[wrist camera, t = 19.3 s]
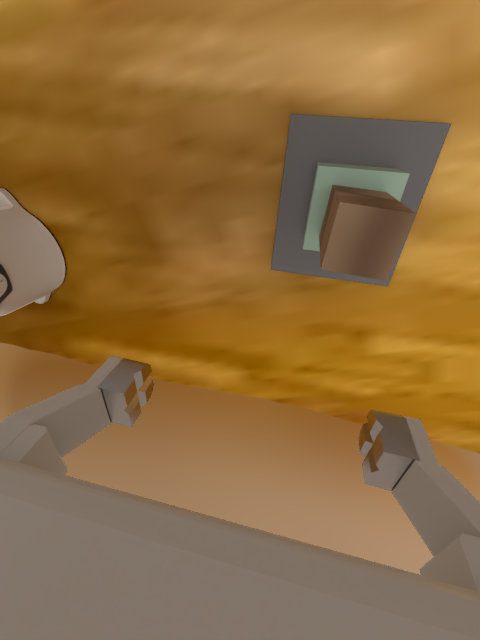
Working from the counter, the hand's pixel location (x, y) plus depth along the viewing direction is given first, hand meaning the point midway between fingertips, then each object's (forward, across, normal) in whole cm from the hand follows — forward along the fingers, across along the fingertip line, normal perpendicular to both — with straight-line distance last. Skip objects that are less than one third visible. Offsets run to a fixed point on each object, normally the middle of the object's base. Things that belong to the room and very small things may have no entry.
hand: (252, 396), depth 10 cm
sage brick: (+28, +6, +2) cm, 29 cm away
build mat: (+29, +6, +2) cm, 30 cm away
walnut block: (+24, +6, +2) cm, 24 cm away
